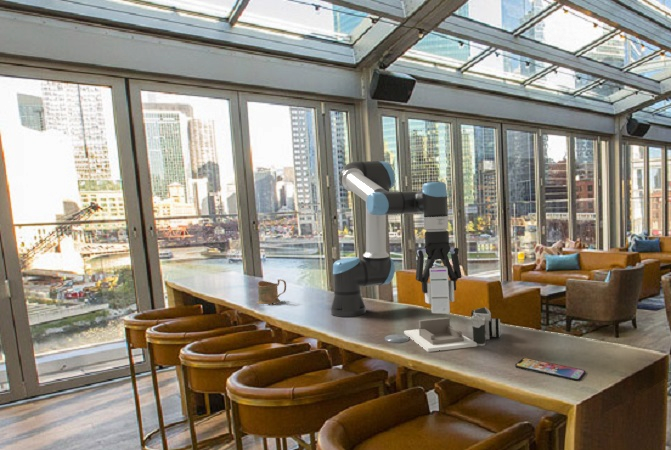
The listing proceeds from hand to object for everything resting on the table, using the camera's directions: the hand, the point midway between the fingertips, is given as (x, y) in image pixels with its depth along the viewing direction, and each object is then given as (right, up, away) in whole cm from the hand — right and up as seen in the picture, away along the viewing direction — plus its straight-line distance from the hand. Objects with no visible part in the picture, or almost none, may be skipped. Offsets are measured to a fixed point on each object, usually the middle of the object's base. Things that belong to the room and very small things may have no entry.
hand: (439, 301), depth 130 cm
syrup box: (0, -3, 0) cm, 3 cm away
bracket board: (0, -13, +2) cm, 13 cm away
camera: (+15, -12, +1) cm, 20 cm away
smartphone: (+21, -13, -26) cm, 36 cm away
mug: (-65, -15, +73) cm, 99 cm away
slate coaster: (-13, -14, +5) cm, 20 cm away
